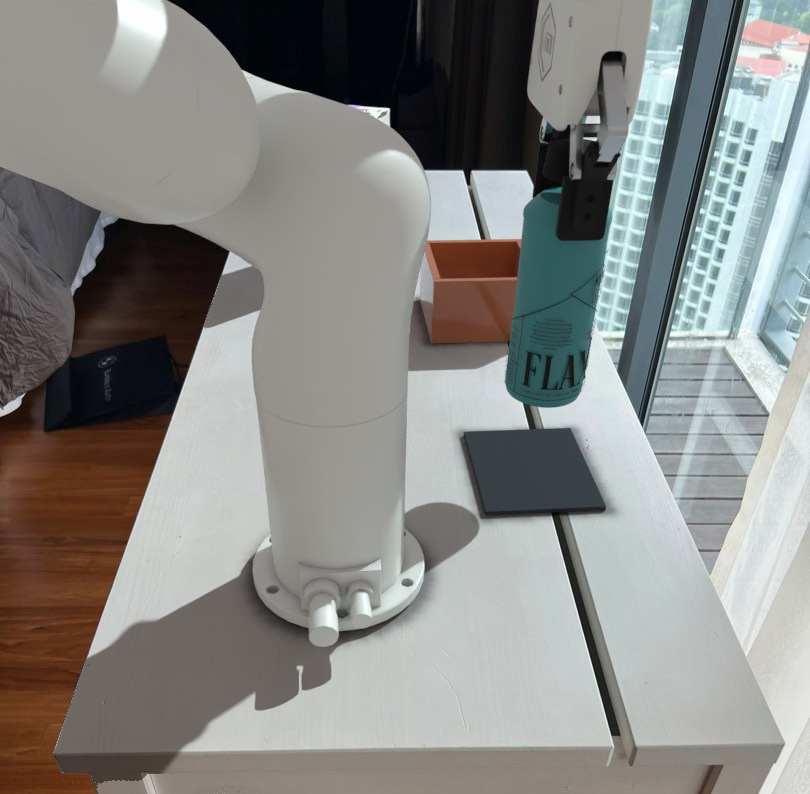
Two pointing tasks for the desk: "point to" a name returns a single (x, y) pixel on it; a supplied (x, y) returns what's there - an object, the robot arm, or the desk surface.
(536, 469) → the mat
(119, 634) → the desk surface
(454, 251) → the holder
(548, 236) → the beverage bottle
